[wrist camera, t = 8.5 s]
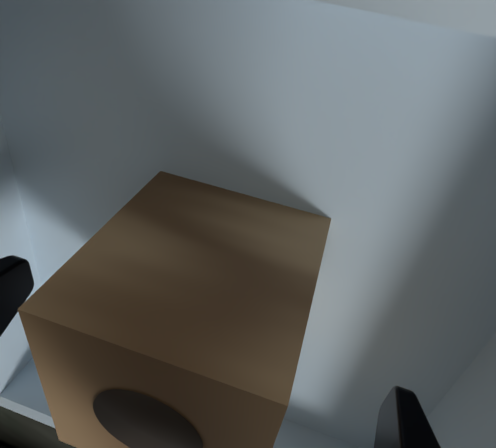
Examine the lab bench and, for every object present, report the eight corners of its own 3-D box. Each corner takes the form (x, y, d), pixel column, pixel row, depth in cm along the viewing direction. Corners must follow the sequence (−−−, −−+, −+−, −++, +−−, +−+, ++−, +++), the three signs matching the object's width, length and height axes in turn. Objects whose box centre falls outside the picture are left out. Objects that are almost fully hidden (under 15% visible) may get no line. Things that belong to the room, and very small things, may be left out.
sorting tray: (49, 328, 18) (-15, 399, 15) (-69, -148, 8) (-299, -194, 6) (406, 460, 15) (409, 572, 13) (801, 3, 6) (1147, 54, 3)
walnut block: (160, 291, 13) (58, 442, 9) (160, 170, 10) (15, 311, 6) (293, 335, 12) (246, 520, 8) (331, 218, 10) (287, 409, 6)
